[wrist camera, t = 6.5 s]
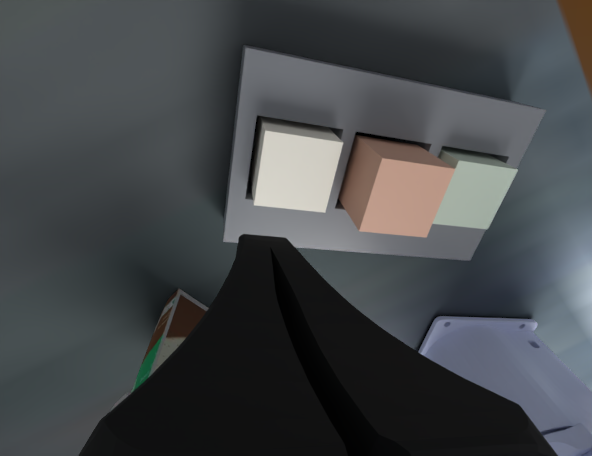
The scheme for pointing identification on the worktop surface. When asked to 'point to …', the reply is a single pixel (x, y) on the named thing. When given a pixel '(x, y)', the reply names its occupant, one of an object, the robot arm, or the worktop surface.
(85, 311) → the worktop surface
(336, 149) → the key cream
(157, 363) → the half round cake
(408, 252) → the key console
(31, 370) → the worktop surface
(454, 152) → the key sage
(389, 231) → the key terracotta
